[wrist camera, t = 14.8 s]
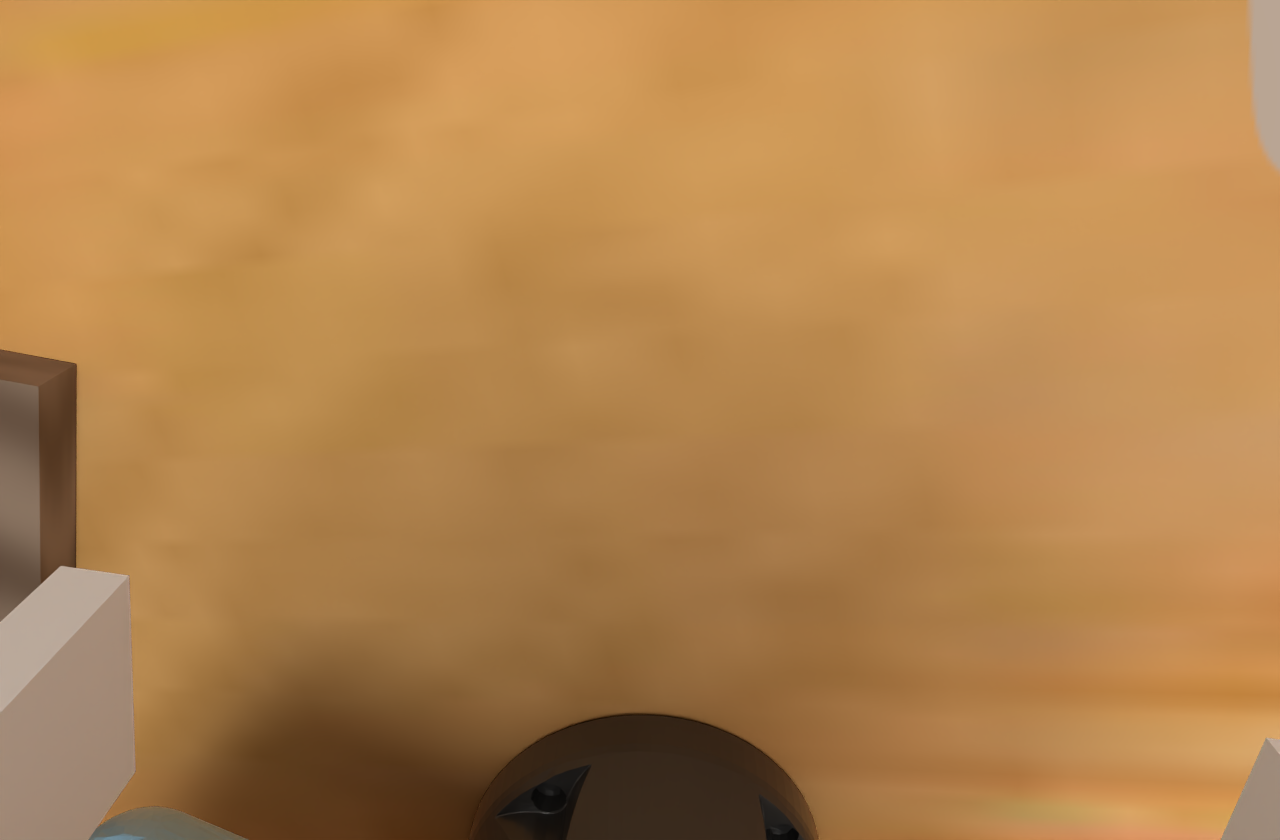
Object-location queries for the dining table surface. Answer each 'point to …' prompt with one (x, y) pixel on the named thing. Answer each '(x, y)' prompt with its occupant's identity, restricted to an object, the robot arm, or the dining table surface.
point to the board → (35, 473)
